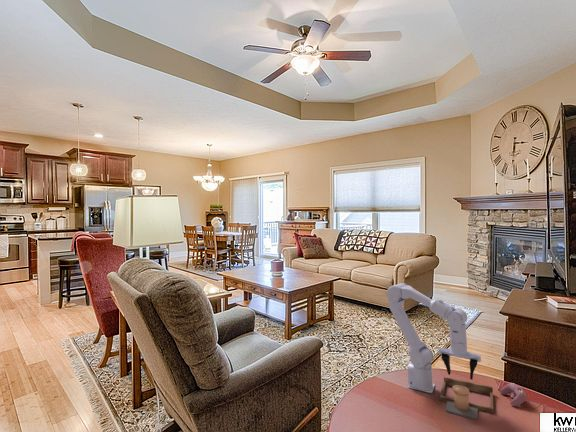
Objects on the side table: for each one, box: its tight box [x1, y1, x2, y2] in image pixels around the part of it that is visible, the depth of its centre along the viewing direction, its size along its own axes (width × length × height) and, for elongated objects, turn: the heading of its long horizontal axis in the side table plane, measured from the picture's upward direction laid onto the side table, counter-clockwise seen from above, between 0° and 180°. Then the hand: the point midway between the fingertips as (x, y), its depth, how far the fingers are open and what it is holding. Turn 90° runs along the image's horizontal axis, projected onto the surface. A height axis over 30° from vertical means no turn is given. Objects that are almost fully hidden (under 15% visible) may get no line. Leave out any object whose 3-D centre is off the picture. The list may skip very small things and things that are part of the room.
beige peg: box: [452, 385, 470, 412], centre depth 115 cm, size 5×5×7 cm
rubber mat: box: [444, 401, 479, 421], centre depth 114 cm, size 10×7×1 cm
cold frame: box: [439, 376, 494, 414], centre depth 122 cm, size 18×15×3 cm
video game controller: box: [499, 382, 528, 407], centre depth 119 cm, size 10×5×7 cm, turn 169°
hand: (460, 375), depth 121 cm, fingers open, 7 cm apart
